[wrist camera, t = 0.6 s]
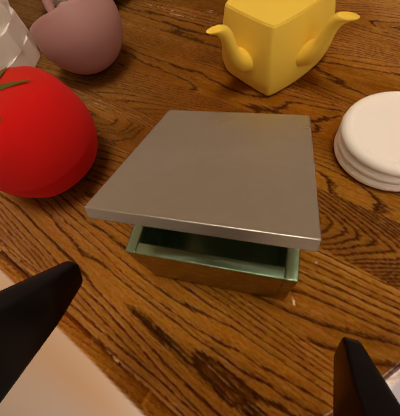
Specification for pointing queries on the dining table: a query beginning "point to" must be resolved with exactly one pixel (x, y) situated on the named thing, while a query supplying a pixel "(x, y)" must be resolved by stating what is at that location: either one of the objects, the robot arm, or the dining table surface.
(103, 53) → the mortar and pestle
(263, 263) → the metal tin box
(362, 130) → the cream thick disc
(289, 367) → the dining table surface
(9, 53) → the basket
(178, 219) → the bin lid
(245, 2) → the teapot
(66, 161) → the tomato
